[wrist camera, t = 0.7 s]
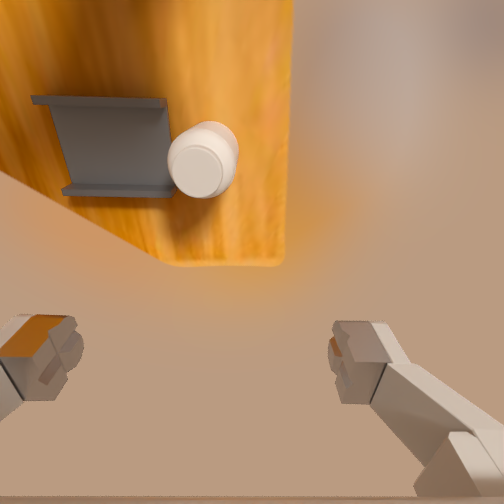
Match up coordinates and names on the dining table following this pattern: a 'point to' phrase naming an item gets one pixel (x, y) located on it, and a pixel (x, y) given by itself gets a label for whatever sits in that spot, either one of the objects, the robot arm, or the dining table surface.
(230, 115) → the dining table surface
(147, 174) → the u rest
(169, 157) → the pill bottle
